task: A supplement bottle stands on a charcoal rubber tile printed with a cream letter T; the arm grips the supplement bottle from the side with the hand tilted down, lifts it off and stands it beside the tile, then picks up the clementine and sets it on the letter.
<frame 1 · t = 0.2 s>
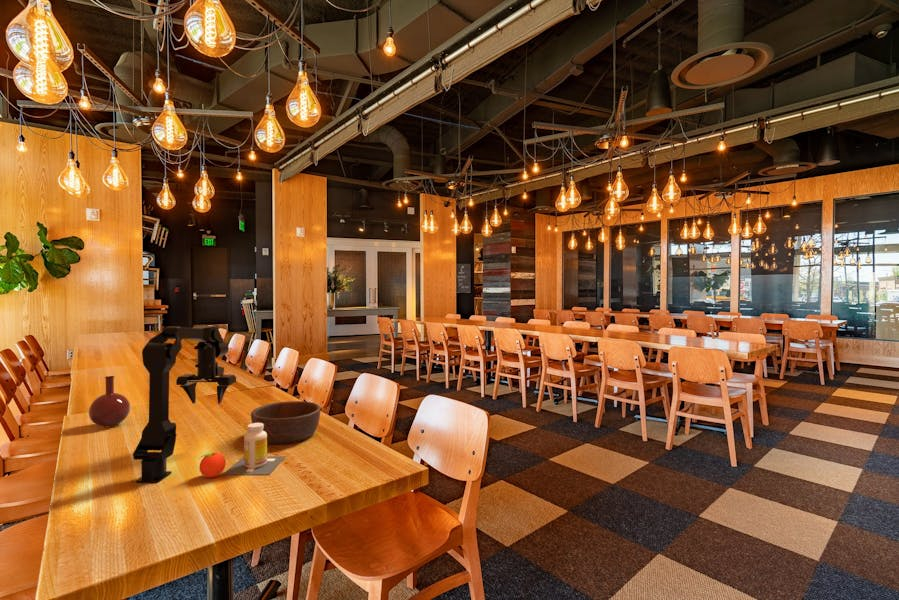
hand: (206, 403, 155), 15 cm above the table, tool pointing down, fingers open, 9 cm apart
wooden bowl: (286, 436, 165), on the table
round-bottom flask: (110, 426, 173), on the table
clementine: (210, 477, 128), on the table
supplement bottle: (255, 465, 137), resting on letter tile
letter tile: (255, 465, 137), on the table
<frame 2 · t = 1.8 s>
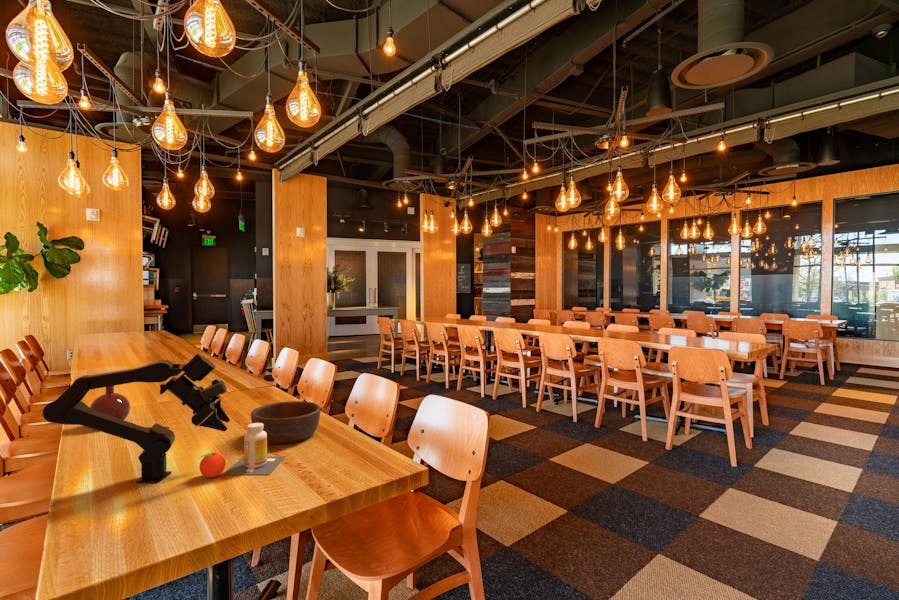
hand: (227, 425, 134), 13 cm above the table, tool tilted 45°, fingers open, 9 cm apart
nothing on the table moved.
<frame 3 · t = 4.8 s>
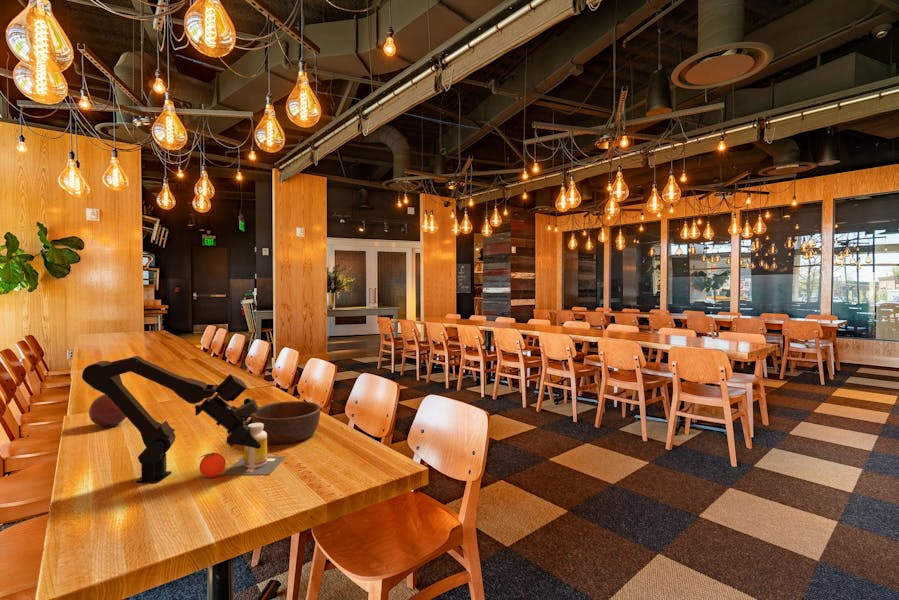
hand: (260, 443, 137), 7 cm above the table, tool tilted 45°, fingers closed on supplement bottle, 6 cm apart
supplement bottle: (255, 465, 137), resting on letter tile, touching gripper
everything else where it was.
when the fingers open (7 cm above the table, at t = 9.0 s): supplement bottle stays where it is, on the table.
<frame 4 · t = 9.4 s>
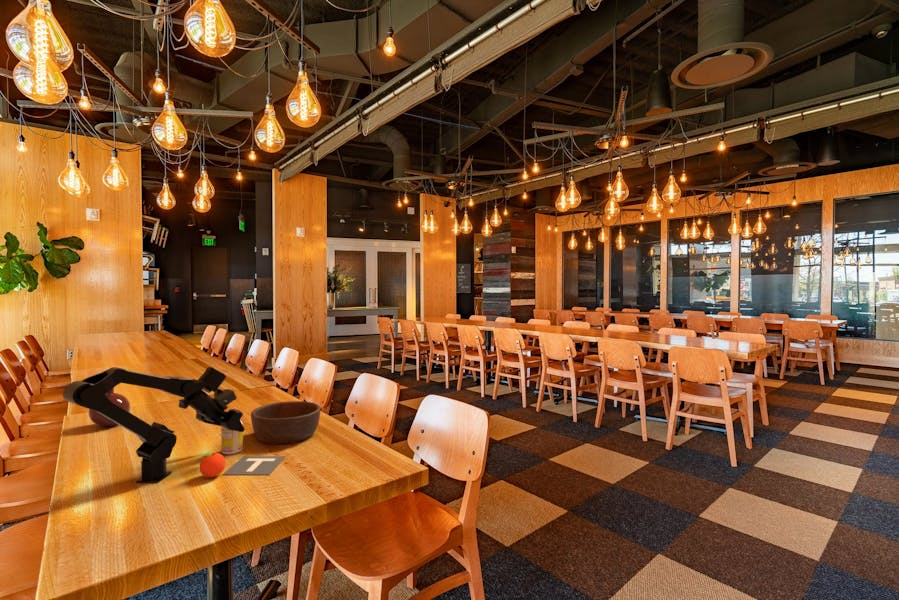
hand: (235, 428, 149), 8 cm above the table, tool tilted 45°, fingers open, 9 cm apart
supplement bottle: (232, 452, 148), on the table
everything else where it was.
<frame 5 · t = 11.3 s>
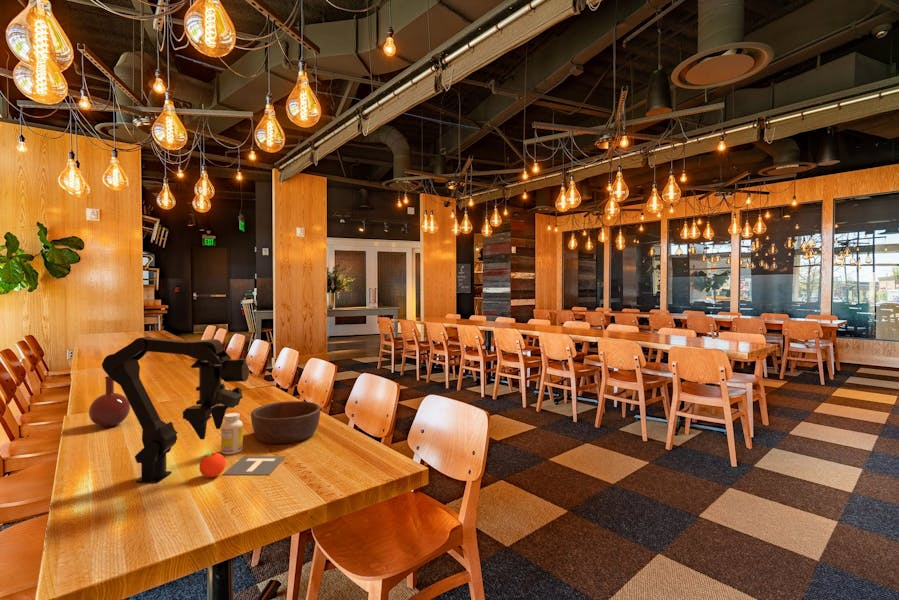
hand: (210, 433, 128), 13 cm above the table, tool pointing down, fingers open, 9 cm apart
nothing on the table moved.
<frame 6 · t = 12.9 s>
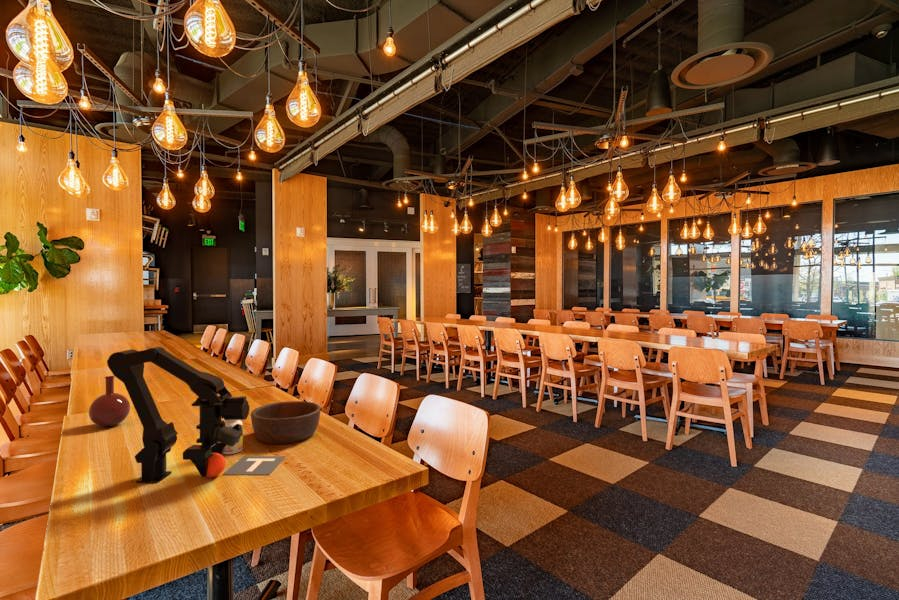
hand: (210, 471, 128), 2 cm above the table, tool pointing down, fingers closed on clementine, 7 cm apart
clementine: (210, 477, 128), on the table, touching gripper
everything else where it was.
when the fingers open (3 cm above the table, at t = 17.2 s): clementine drops 1 cm, resting on letter tile.
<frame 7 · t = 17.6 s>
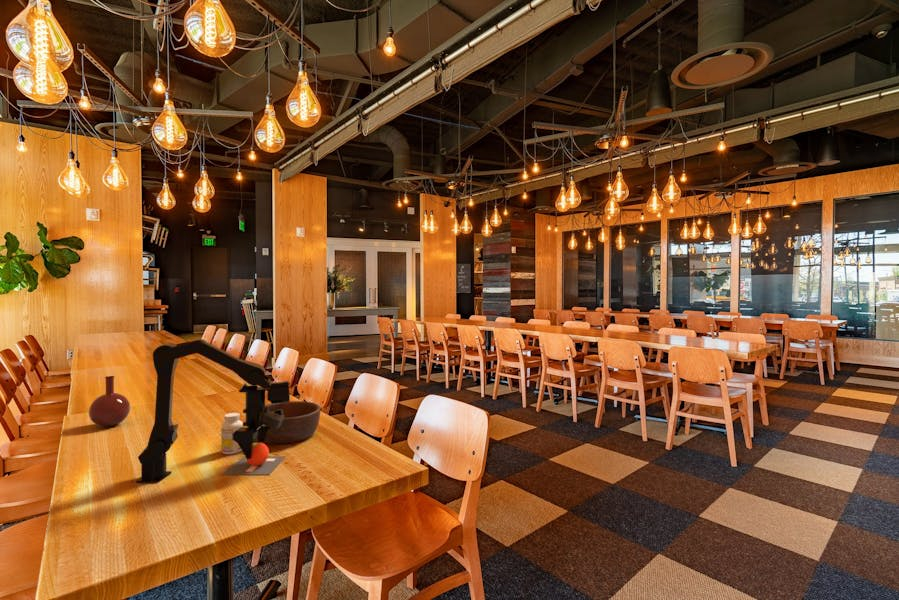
hand: (255, 453, 137), 4 cm above the table, tool pointing down, fingers open, 9 cm apart
clementine: (255, 465, 136), resting on letter tile
everything else where it was.
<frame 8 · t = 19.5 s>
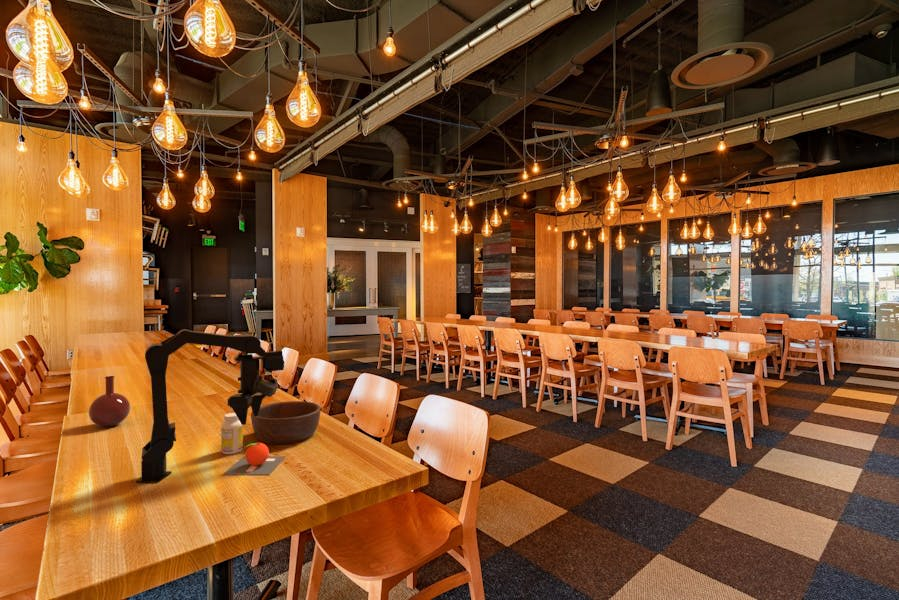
hand: (250, 420, 141), 13 cm above the table, tool pointing down, fingers open, 9 cm apart
nothing on the table moved.
at the end: clementine inside the target area on the letter tile (0.2 cm from its centre), point 0.0 cm above the letter tile's base; supplement bottle inside the target area (0.7 cm from its centre), on the table; supplement bottle tilted 0° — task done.
